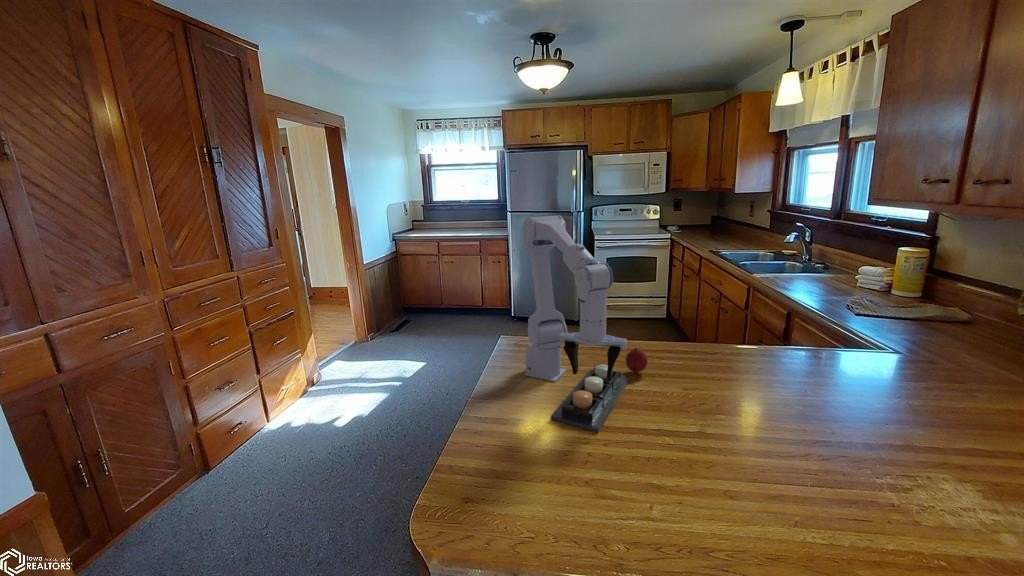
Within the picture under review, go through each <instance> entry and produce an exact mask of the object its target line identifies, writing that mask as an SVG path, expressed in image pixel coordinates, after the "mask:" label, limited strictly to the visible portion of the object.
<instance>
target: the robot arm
mask: <svg viewBox="0 0 1024 576" xmlns="http://www.w3.org/2000/svg"><path fill="white" fill-rule="evenodd" d="M566 228H567V227H566V221H565V220H564V218H563V216H562V215H559V214H557V215H547V216H546V215H545V216H527V217H526V218H525V220H524V221H523V225H522V234H523V235H522V236H523V237H522V238H523V243H524V244H523V245H524V248H525V249H526V250H528V251H529V254H530V263H531V264H530V265H531V272H532V281H533V289H534V298H535V299H534V300H535V307H536V310H535V311H534V313H532V314H531V316H529V318H528V319H527V320H528V321H527V327H528V328H527V336H528V340H529V342H528V344H527V346H526V349H525V373H524V375H525V376H527V377H531V378H536V379H541V380H544V381H545V380H546V381H550V382H557V381H558V380H559V379H560V378H561V376H562V375H564V373H566V372H567V369H566V368H563V367H562V366H561V365H562V361H561V360H562V359H561V358H562V357H561V356H562V355H561V353H562V351H561V350H562V348H561V347H562V345H564V346H563V351H564V352H565V354H566V356H567V358H568V360H569V363H570V365H571V369H572V374H573V375H577V373H578V372H579V345H584V346H586V347H594V346H595V347H603V348H608V350H607V365H608V369H607V379H610V378H611V375H612V370H613V368H614V366H615V363H616V361H617V359H618V357H619V356H620V353H621V351H625V350H627V342H628V338H624V337H618V336H614V335H610V334H607V305H608V302H607V301H608V299H607V298H608V289H610V288H611V287H612V285H613V282H614V275H613V271H612V268H611V267H610V266H609V264H608V262H605V261H604V262H601V261H598V260H596V258H595V257H594V256H593V255H592V254H591V253H590V252H589V250H587V248H586V247H585V245H584V244H582V243H575V241H574V240H573V238H572V237H571V236H570V234H569V233H568V232H567V229H566ZM554 247H556V248H558V250H559V251H560V252H562V261H563V263H564V264H565V265H566V266H567V268H568V269H569V270H570V271H571V272H572V274H573V275H574V283H575V286H576V289H577V298H578V299H579V332H568V326H567V324H566V321H565V317H564V314H563V313H562V312H561V311H559V310H557V309H556V305H555V299H554V288H553V281H552V271H551V263H550V256H549V255H550V254H549V253H550V251H551V248H554Z"/></svg>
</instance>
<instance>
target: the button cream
mask: <svg viewBox="0 0 1024 576" xmlns="http://www.w3.org/2000/svg"><path fill="white" fill-rule="evenodd" d="M585 391H588V392H590V393H594V394H600V393H602V392H603V380H602V379H601V378H599V377H587V378H586V379H585Z"/></svg>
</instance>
